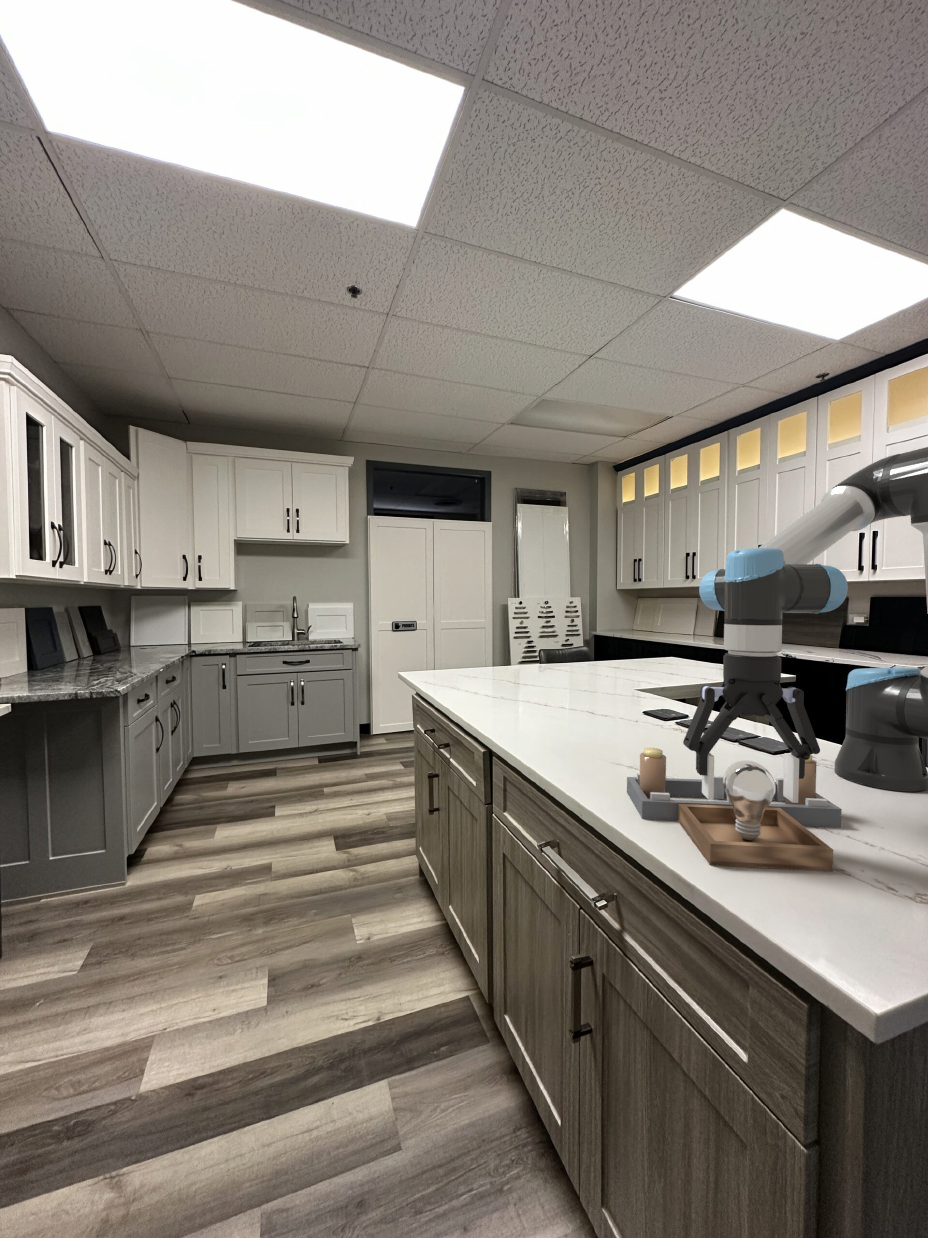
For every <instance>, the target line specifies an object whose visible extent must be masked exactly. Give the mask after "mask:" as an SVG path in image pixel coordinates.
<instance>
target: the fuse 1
mask: <svg viewBox="0 0 928 1238" xmlns="http://www.w3.org/2000/svg"><path fill="white" fill-rule="evenodd" d="M663 752H664V751H663V749H661V748H656V747H645V748H643V752H641V753H640V754H639V773H640V789H641V790H642V791H643V792H644V794H645V795H646V797H647V798H648V799H650V792H657V793H666V778H667V756H666V755H664V754H663Z"/></svg>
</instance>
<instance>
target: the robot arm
mask: <svg viewBox="0 0 928 1238" xmlns="http://www.w3.org/2000/svg"><path fill="white" fill-rule="evenodd" d="M908 516H910V525H911V527H913V528H915V529H916V530H918V531H919V532H920V533H921V534H922V542H923V543H922V544H923V556H924V557H923V558H924V559H923V561H924V575H925V593H926V607H927V613H928V446H926V447H922V448H918V449H914V450H910V451H907V452H903V453H896V454H893V455H889V456H886V457H884V458H882V459H881V458H880V459H879V460H877V461H874V462H872V463H871V464H868V465H866V466H865V467H863V468H861V469H860V470H858V471H857V472H854V473H853V474H851V475H849V476H848V477H847V478H846V479H843V480H842V481H841V482H839V483H838V484H836V485H835V486H833V487H832V488H830V489H828V490H827V492H825V494H824V495H823V496H822V498H821V500H820V503H818V504H817V505H816V506H815V507H813V508H811V510H809V511H808V512H806V513H804V515H802V516H801V517H800V518H798V519H797V520H795V521H794V522H792V523H791V524H789V525H788V526H787V527H786V528H784V529H782V530H781V531H780V532H778V533H776V534H775V535H774V536H773V537H771V538H770V539H769V540H767V541H766V542H764V543H763V544H761V545H759V546H758V547H754V548H753V547H752V548H750V547H749V548H741V549H736V550H732V551H730V552H729V553H728V554H727V556H726V559H725V560H726V561H725V569H724V568H719V569H717V570H712V571H709V572H708V573H706V574H705V575H704V576H703V577H702V579H701V580H700V584H699V591H698V592H699V597H700V599H701V601H702V603H703V604H704V605H705V606H706V607H707V608H709V609H711V610H713V611H723V612H724V624H723V627H724V628H723V649H724V650H725V651H728V652H726V653H725V654H724V655H723V660H722V661H723V664H722V665H723V671H722V677H723V679H722V680H723V682H722V684H721V686H720V687H717V686H716V687H715V686H708V685H706V684H703V685H701V687H700V692H699V693H700V696H699V697H700V699H699V702H698V705H697V707H696V709H695V712H694V715H693V716H692V719H691V722H690V724H689V726H688V728H687V730H686V731H687V732H686V733H685V736H684V738H683V741H682V742H683V745H684V746H685V747H686V748H687V749H689V750H690V751H691V752H692V751H693V752H695V771H696V772H697V774H698V775H700V776H701V779H702V793H703V794H704V795H705V796H706V798H705V799H707V800H711V801H715V800H714V776H715V755H713V754H712V753H711V751H712V750H713V749H714V747H715V746H716V744H717V743H718V741H719V740H720V739H721V738H722V737H723V735H724V734H725V732H726V731H727V729H728V728H729V727H730V726H731V724H732V723H733V721H735V720H737V719H738V718H739V717H740V716H743V717H750V716H757V717H766V719H767V720H768V721H769V723H770V725H772V727H773V728H774V730H775V732H776V733H777V734H778V736H779V737H780V739H781V740H782V742H783V744H785V746H786V748H787V750H788V751H789V752H790V753H791V754H790V753H786V752H785V753H783V778H784V781H783V796H784V797H786V798H787V799H788V800H790V801H791V802H793V803H798V789H799V779H803V778H804V776H805V760H808V759H809V758H810V755H818V754H819V753H821V748H820V745H819V742H818V739H817V737H816V735H815V732H814V730H813V727H812V723H811V721H810V718H809V716H808V712H807V710H806V707H805V705H804V704H805V691H804V690H802V689H800V688H796V687H794V686H788V687H787V688H783V687H781V679H782V657H780V655H778V653H781V652H782V651H783V650H782V647H783V646H782V644H783V614H784V613H785V614H786V613H787V614H790V613H791V614H802V613H803V614H816V615H817V614H820V613H827V612H831V611H834V610H835V609H837V608H839V607H840V606H841V605H842V604H843V603H844V601H845V600H846V598H847V596H848V590H849V586H848V585H849V584H848V581H847V578H846V576H845V574H844V573H843V572H842V571H841V570H840V569H838V568H836V567H834V566H833V565H824V564H821V563H811V564H810V562H812V561H813V560H814V559H817V557H819V556H820V555H821V554H822V553H824V552H826V551H827V550H828V549H829V548H831V547H832V546H834V545H835V544H836V543H837V542H839V541H840V540H841V539H843V537H845V536H847V535H848V534H850V533H851V532H857V531H861V530H863V529H865V528H867V527H868V526H869V525H871V524H873V523H875V522H879V521H882V520H886V519H887V520H888V519H892V518H899V517H908ZM845 691H846V709H845V712H846V713H845V717H846V718H845V738H844V740H843V743H842V745H841V746H840V749H839V751H838V753H837V756H836V758H835V759H834V773H835V774H836V775H838V776H839V777H841V778H843V779H844V780H848V781H850V782H853V783H857V784H859V785H864V786H867V787H871V788H877V789H882V790H889V791H896V792H897V791H899V792H923V791H926V790H928V770H927V766H926V764H925V761H924V758H923V756H922V752H921V751H920V747H919V743H920V742H919V739H920V738H922V739H927V740H928V665H927V666H925V667H924V668H922V669H921V668H919V667H869V668H867V667H866V668H855V669H853V670H851V671H850V672H849V673H848V675H847V683H846V688H845ZM720 696H722V698H723V700H725V702H724V704H723V705H722V706H721V708H720V710H719V713H718V714H717V715H716V716H715V718H714V719H713V721H712V723H710V725H709V726H708V728H707V729H706V730H705V728H706V726H707V724H708V722H709V718H710V717H711V714H712V712H713V709H714V707H715V702H717V701H718V700H719V697H720ZM782 698H783V701H784V702H785V703H786V705H787V706H786V707H787V709H788V711H789V713H790V714H789V715H790V717H791V720H792V721H793V724H794V727H795V731H796V732H797V736H798V738H799V739H798V738H797V736H796V734H795V733H794V732H793V730H792V729H791V727H790V726H789V724H788V723H787V722H786V720H785V719H784V718H783V714H782V712H781V711H780V710H779V708H778V707H777V706H776V705H777V704H778V702H779V701H780V700H781V699H782ZM704 730H705V732H704Z"/></svg>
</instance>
